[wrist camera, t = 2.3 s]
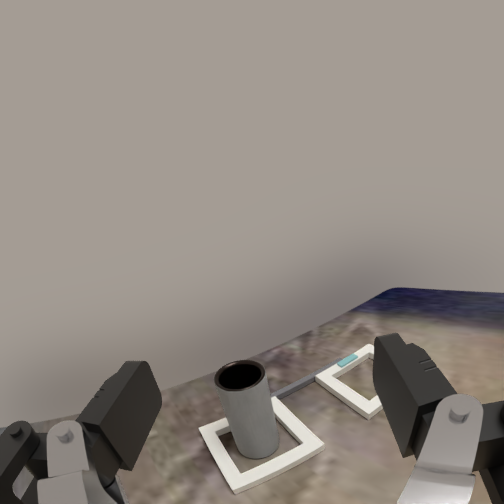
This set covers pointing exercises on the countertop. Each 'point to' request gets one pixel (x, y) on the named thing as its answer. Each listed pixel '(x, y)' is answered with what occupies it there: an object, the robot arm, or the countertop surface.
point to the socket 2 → (344, 392)
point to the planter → (248, 407)
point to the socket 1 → (271, 468)
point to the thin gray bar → (301, 382)
